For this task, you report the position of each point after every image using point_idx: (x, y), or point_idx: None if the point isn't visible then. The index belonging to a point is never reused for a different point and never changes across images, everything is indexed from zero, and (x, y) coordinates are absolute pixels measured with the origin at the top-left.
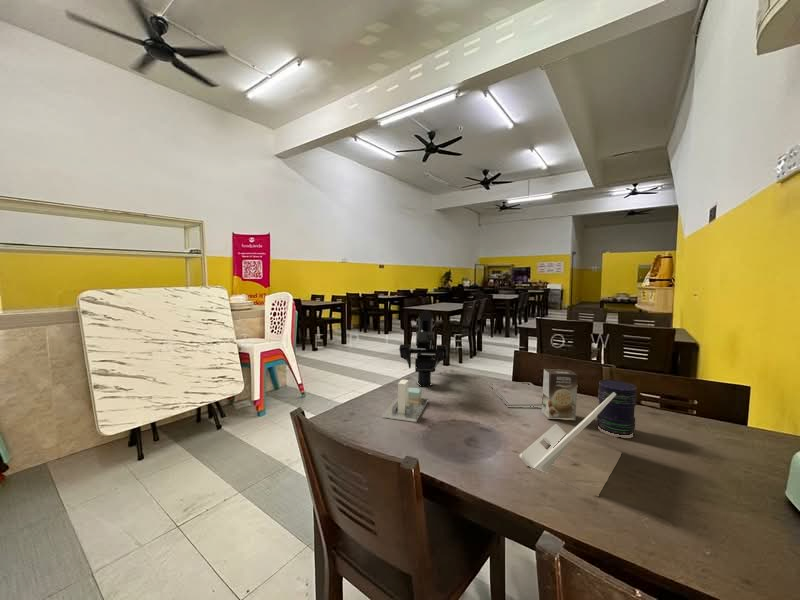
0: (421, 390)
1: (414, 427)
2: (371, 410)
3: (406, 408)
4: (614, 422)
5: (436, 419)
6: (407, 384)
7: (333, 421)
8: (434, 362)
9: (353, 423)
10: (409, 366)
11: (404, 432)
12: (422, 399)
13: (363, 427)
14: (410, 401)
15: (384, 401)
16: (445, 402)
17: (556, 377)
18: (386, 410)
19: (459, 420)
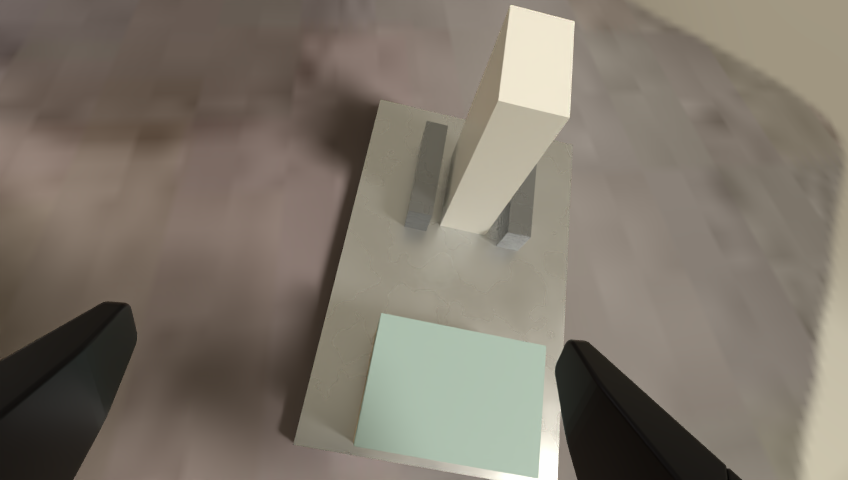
0: (354, 442)
1: (385, 62)
2: (652, 236)
3: (450, 178)
4: None
5: (260, 144)
6: (492, 93)
7: (759, 109)
8: (26, 374)
9: (670, 94)
10: (580, 340)
11: (428, 23)
12: (343, 422)
13: (613, 62)
14: None
15: None
16: (135, 445)
17: None
18: (566, 196)
19: (112, 136)
